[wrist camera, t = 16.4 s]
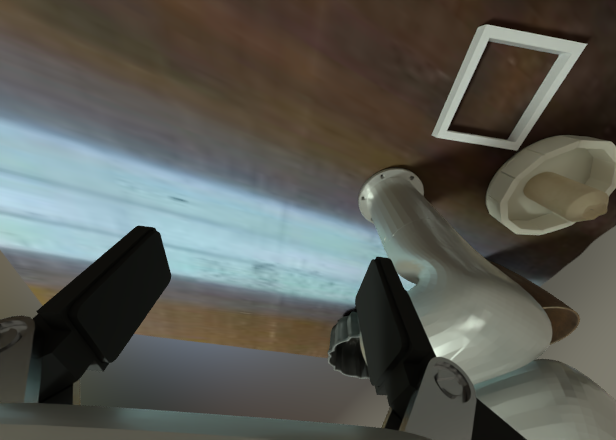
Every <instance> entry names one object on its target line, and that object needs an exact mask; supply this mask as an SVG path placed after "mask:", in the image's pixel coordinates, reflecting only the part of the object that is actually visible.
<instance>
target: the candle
mask: <svg viewBox="0 0 616 440" xmlns="http://www.w3.org/2000/svg"><path fill="white" fill-rule="evenodd" d="M524 195H525V196H526V197H527V198H529V199H531V200H533V201H534V202H536V203H538V204H540V205H542V206H543V207H545V208H547V209H549V210H551V211H553V212H554V213H556V214H558V215H560V216H562V217H563V218H565V219H567V220H569V221H572V222H579V221H586V220H593V219H595V218H596V217H598V216H600V215H603V214H605V213H606V212H607V205H608V201H609V197H608V195H607V193H605V192H603V191H600V190H598V189H595V188H592V187H590V186H587V185H585V184H582V183H579V182H577V181H574V180H572V179H569V178H566V177H564V176H561V175H559V174H556V173H553V172H543V173H540V174H538V175H536V176H534V177H533V178H531V179H530V180H529V181H528V182H527V184H526V185H525V187H524Z"/></svg>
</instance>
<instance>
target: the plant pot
mask: <svg viewBox="0 0 616 440" xmlns="http://www.w3.org/2000/svg"><path fill="white" fill-rule="evenodd" d="M487 261H489V260H487ZM489 262H490V263H491V264H493V265H494V266H495V267H497V268H498V269H499V270H500V271H502V272H503V273H504V274H506V275H507V276H508V277H510V278H511V279H512V280H514V281H515V282H516V283H518V284H519V285H520V286H521V287H522V288H523V289H525V290H526V291H527V292H528V293H529V294H530V295H531V296H532V297H533V298H534V299H535V300H536V301H537V302H538V303H539V304H540V305H541V307H542V308H543V309H544V311H545V312H546V314H547V316H548V317H549V320H550V322H551V326H552V339H551V342H550V345H551V344H553V343H556V342H558V341H560V340H561V339H563V338H565V337H566V336H568V335H569V334H571V333H572V332H573V331H574V330H575V329H576V328H577V326H578V324H579V322H580V318H579V315H578V313H576V312H575V311H574V310H573V309H571V308H570V307H569V306H567V305H566V304H564V303H563V302H562V301H560V300H559V299H557V298H556V297H554V296H553V295H551V294H550V293H548V292H547V291H545V290H544V289H542V288H541V287H539V286H537V285H536V284H534V283H532V282H531V281H529V280H527V279H526V278H524V277H522V276H520V275H519V274H517V273H515V272H513V271H511V270H509V269H507V268H505V267H503V266H501V265H499V264H497V263H494V262H492V261H489Z"/></svg>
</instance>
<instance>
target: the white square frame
mask: <svg viewBox="0 0 616 440" xmlns="http://www.w3.org/2000/svg"><path fill="white" fill-rule="evenodd" d="M488 41H491V42H496V43H501V44H506V45H512V46H517V47H522V48H527V49H533V50H538V51H543V52H548V53H553V54H559V57H558V58H557V60H556V62H555V63H554V65H553V66H552V68H551V70H550V71H549V73H548V75H547V76H546V78H545V79H544V81H543V83H542V84H541V86H540V88H539V89H538V91H537V92H536V94H535V96H534V97H533V99H532V101H531V102H530V104H529V105H528V107H527V109H526V110H525V112H524V114H523V115H522V117H521V118H520V120H519V122H518V123H517V125H516V127H515V128H514V130H513V131H512V133H511V135H510V136H509V138H508V140H505V139H499V138H493V137H487V136H481V135H475V134H469V133H463V132H457V131H451V130H447V129H448V127H449V125H450V123H451V121H452V119H453V116H454V114H455V112H456V110H457V108H458V106H459V103H460V101H461V99H462V97H463V95H464V93H465V90H466V88H467V86H468V84H469V82H470V80H471V77H472V75H473V73H474V71H475V69H476V67H477V64H478V62H479V60H480V58H481V56H482V54H483V51H484V49H485V47H486V45H487V43H488ZM586 45H587V44H584V43H579V42H574V41H569V40H564V39H559V38H554V37H549V36H544V35H539V34H533V33H528V32H523V31H518V30H513V29H508V28H503V27H498V26H493V25H488V24H486V25H483V26H480V27H478V28H477V31H476V33H475V35H474V38H473V40H472V42H471V45H470V47H469V49H468V52H467V54H466V56H465V59H464V61H463V63H462V66H461V68H460V70H459V73H458V75H457V77H456V80H455V82H454V84H453V87H452V89H451V91H450V94H449V96H448V98H447V101H446V103H445V105H444V107H443V110H442V112H441V114H440V117H439V119H438V121H437V124H436V126H435V128H434V131H433V133H432V136H435V137H437V138H443V139H449V140H455V141H461V142H467V143H474V144H480V145H486V146H492V147H498V148H504V149H510V150H516V151H517V150H518V149H519V147H520V146H521V144H522V143H523V141H524V140H525V138H526V137H527V135H528V134H529V132H530V130H531V129H532V127H533V126H534V124H535V123H536V121H537V120H538V118H539V117H540V115H541V114H542V112H543V111H544V109H545V108H546V106H547V105H548V103H549V102H550V100H551V98H552V97H553V95H554V94H555V92H556V91H557V89H558V88H559V86H560V85H561V83H562V82H563V80H564V79H565V77H566V76H567V74H568V73H569V71H570V70H571V68H572V66H573V65H574V63H575V62H576V60H577V59H578V57H579V56H580V54H581V53H582V51H583V50H584V48H585V47H586Z"/></svg>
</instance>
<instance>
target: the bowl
mask: <svg viewBox="0 0 616 440" xmlns="http://www.w3.org/2000/svg"><path fill="white" fill-rule="evenodd" d="M543 172H553V173H556V174H559V175H561V176H564V177H566V178H569V179H572V180H574V181H577V182H579V183H582V184H585V185H587V186H590V187H592V188H595V189H598V190H600V191H603V192H605V193H607V195H608V196H609V195H610V194H611V193H612V192H613V191H614V190H615V188H616V146H615V145H614V144H613V143H612V142H611V141H606V140H601V139H596V138H592V137H586V136H574V135H559V136H553V137H549V138H545V139H542V140H540V141H537V142H535V143H533V144H531V145H529V146H527V147H525V148H523V149H522V150H520V151H519V152H517V153H516V154H515V155H513V156H512V157H511V158H510V159H509V160H507V161H506V162H505V163H504V164H503V165H502V166H501V168H500V169H499V170H498V171H497V172H496V174H495V175H494V177H493V178H492V180H491V182H490V184H489V186H488V189H487V192H486V207H487V209H488V211H489V213H490V215H492V216H493V217H494V218H496V219H497V220H498V221H499V222H501V223H502V224H503V225H505V226H506V227H507V228H509V229H510V230H511V231H513V232H514V233H515V234H526V235H543V234H546V233H549V232H552V231H556V230H559V229H562V228H565V227H569V225H570V226H571V225H572V224H574V223H576V222H572V221H569V220H567V219H565V218H563V217H562V216H560V215H558V214H556V213H554V212H553V211H551V210H549V209H547V208H545V207H543V206H542V205H540V204H538V203H536V202H534V201H533V200H531V199H529V198H527V197H526V196H525V195H524V187H525V185H526V184H527V182H528V181H529V180H530V179H531V178H533V177H534V176H536V175H538V174H540V173H543Z"/></svg>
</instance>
